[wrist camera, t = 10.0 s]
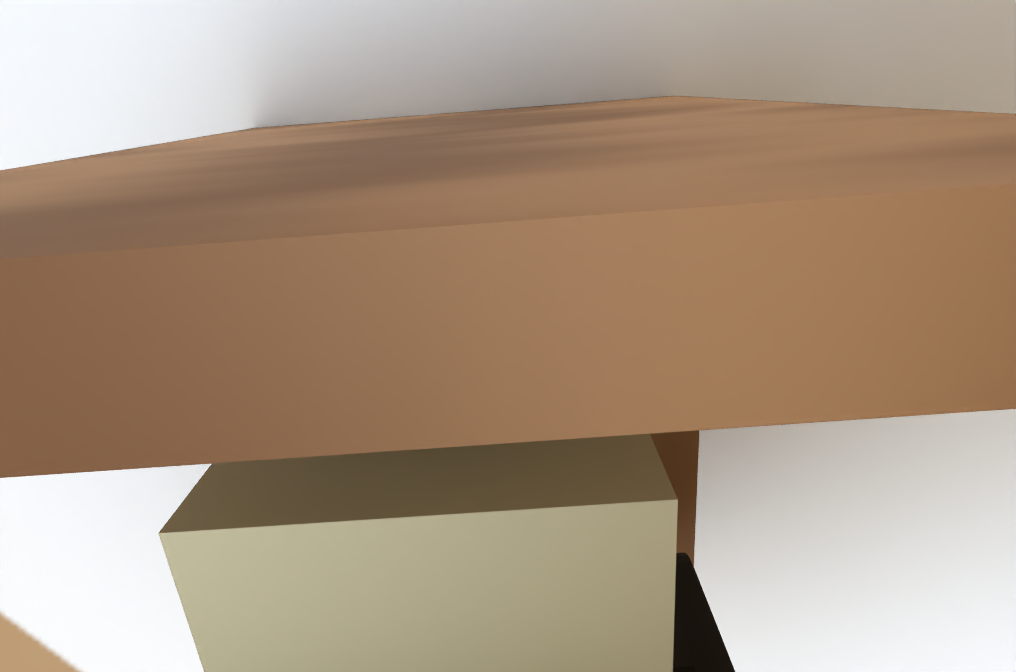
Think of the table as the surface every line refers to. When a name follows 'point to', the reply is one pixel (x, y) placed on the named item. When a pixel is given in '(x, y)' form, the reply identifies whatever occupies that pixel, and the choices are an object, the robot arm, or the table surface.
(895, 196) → the shelf
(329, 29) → the table surface
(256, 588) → the beige rectangular block
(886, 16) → the table surface
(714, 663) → the robot arm
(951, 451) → the table surface
